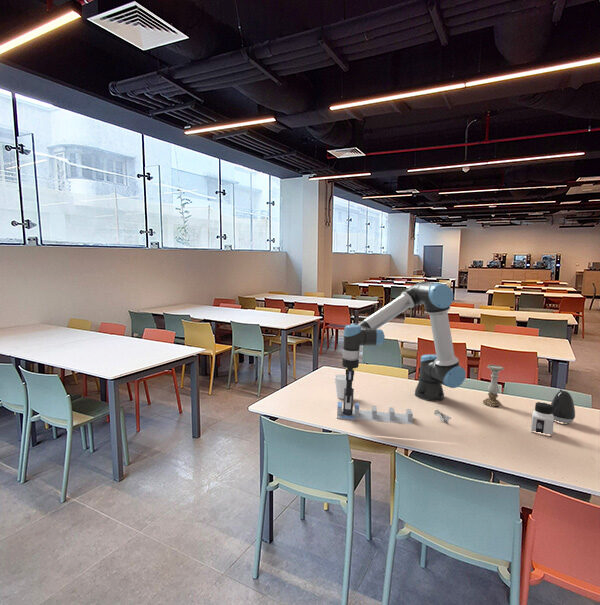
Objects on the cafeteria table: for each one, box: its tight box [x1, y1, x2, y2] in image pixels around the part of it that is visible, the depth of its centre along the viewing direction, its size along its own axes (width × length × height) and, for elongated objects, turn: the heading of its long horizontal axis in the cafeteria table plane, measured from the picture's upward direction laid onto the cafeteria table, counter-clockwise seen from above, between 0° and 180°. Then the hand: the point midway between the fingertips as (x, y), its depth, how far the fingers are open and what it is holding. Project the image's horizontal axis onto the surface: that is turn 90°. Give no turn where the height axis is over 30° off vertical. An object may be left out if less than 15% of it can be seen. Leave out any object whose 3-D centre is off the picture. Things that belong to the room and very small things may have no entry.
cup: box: [334, 374, 347, 400], centre depth 202 cm, size 10×10×11 cm
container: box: [530, 401, 555, 436], centre depth 168 cm, size 8×8×13 cm
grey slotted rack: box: [336, 401, 414, 425], centre depth 178 cm, size 34×11×5 cm, turn 82°
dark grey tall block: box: [342, 387, 355, 416], centre depth 179 cm, size 4×4×12 cm
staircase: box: [434, 409, 452, 424], centre depth 174 cm, size 6×4×6 cm, turn 24°
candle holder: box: [482, 364, 505, 407], centre depth 199 cm, size 9×9×20 cm
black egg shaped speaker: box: [550, 389, 576, 424], centre depth 179 cm, size 10×10×15 cm
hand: (347, 406), depth 179 cm, fingers closed on dark grey tall block, 4 cm apart
